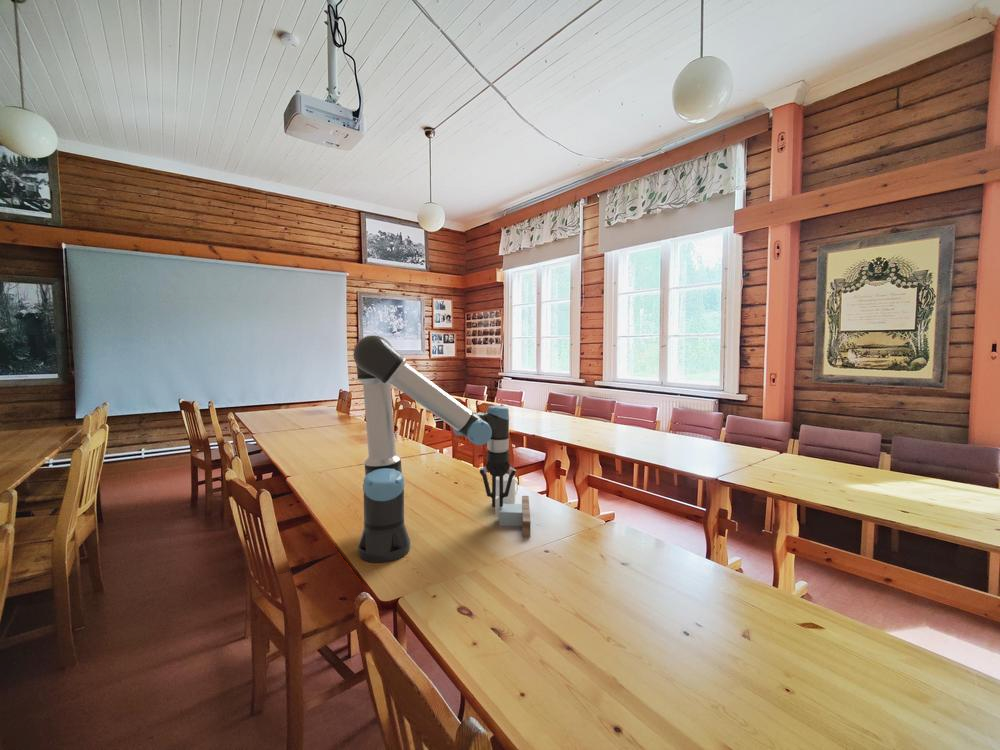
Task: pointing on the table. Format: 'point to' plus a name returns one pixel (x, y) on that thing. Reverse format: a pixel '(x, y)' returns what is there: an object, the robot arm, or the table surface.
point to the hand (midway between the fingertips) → (497, 515)
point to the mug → (511, 495)
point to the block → (510, 515)
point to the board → (526, 516)
